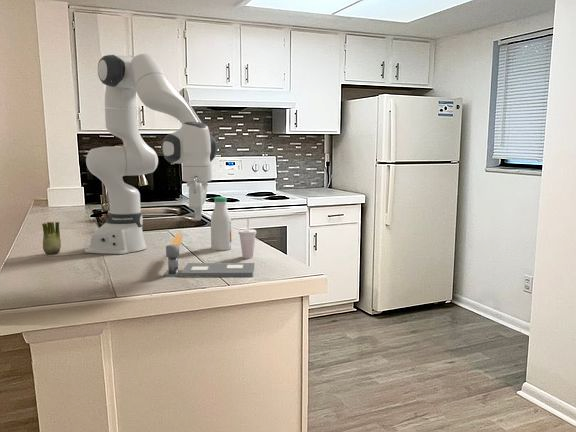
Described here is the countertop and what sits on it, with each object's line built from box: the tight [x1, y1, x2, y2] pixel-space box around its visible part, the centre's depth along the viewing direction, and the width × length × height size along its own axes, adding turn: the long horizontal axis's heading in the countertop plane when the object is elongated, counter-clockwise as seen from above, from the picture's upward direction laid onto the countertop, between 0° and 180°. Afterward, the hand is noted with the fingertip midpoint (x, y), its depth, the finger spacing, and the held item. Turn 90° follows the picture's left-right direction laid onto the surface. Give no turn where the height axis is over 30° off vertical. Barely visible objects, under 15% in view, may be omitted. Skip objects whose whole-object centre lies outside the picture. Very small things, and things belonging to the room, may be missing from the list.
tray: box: [180, 262, 255, 278], centre depth 162 cm, size 22×12×2 cm, turn 91°
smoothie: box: [238, 218, 257, 260], centre depth 180 cm, size 6×6×14 cm
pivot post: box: [163, 257, 184, 277], centre depth 159 cm, size 5×5×6 cm
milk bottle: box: [210, 196, 232, 251], centre depth 193 cm, size 8×8×20 cm
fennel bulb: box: [41, 221, 62, 255], centre depth 185 cm, size 6×5×12 cm
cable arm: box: [165, 233, 183, 258], centre depth 168 cm, size 24×4×3 cm, turn 7°
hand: (198, 219), depth 158 cm, fingers closed
